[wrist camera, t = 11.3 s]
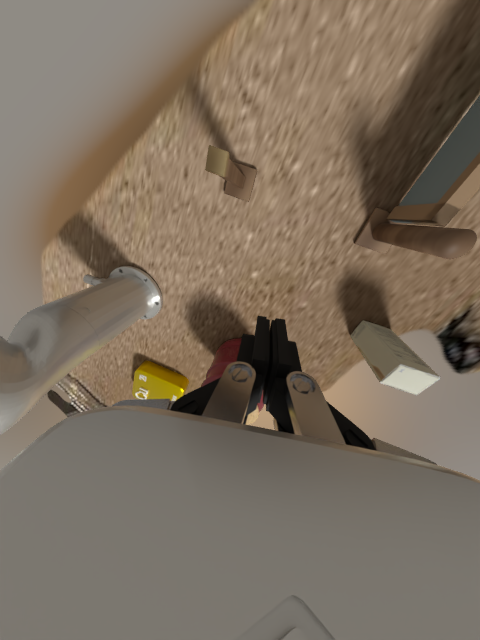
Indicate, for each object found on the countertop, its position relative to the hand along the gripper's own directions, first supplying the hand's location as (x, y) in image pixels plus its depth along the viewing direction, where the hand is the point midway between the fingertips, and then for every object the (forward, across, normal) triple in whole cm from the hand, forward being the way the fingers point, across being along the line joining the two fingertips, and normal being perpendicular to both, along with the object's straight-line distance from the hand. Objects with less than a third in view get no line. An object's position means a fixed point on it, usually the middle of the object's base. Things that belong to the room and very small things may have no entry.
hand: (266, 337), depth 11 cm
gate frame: (+24, -5, -8) cm, 26 cm away
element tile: (+26, +27, +42) cm, 56 cm away
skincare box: (+24, -22, +12) cm, 35 cm away
